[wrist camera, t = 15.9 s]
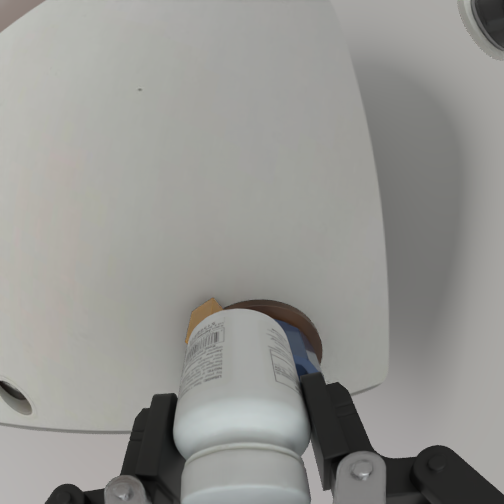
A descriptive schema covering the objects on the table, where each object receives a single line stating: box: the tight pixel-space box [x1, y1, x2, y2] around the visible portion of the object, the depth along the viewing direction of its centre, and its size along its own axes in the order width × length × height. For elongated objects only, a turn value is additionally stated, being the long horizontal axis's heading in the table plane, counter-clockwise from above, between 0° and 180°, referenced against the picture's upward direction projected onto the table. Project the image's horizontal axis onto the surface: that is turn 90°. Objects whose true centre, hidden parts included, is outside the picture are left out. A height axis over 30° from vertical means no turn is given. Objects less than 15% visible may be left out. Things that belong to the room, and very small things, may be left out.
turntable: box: [223, 300, 322, 365], centre depth 32 cm, size 14×14×1 cm
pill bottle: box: [173, 309, 311, 504], centre depth 9 cm, size 4×4×8 cm
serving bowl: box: [185, 298, 324, 385], centre depth 29 cm, size 15×12×5 cm
